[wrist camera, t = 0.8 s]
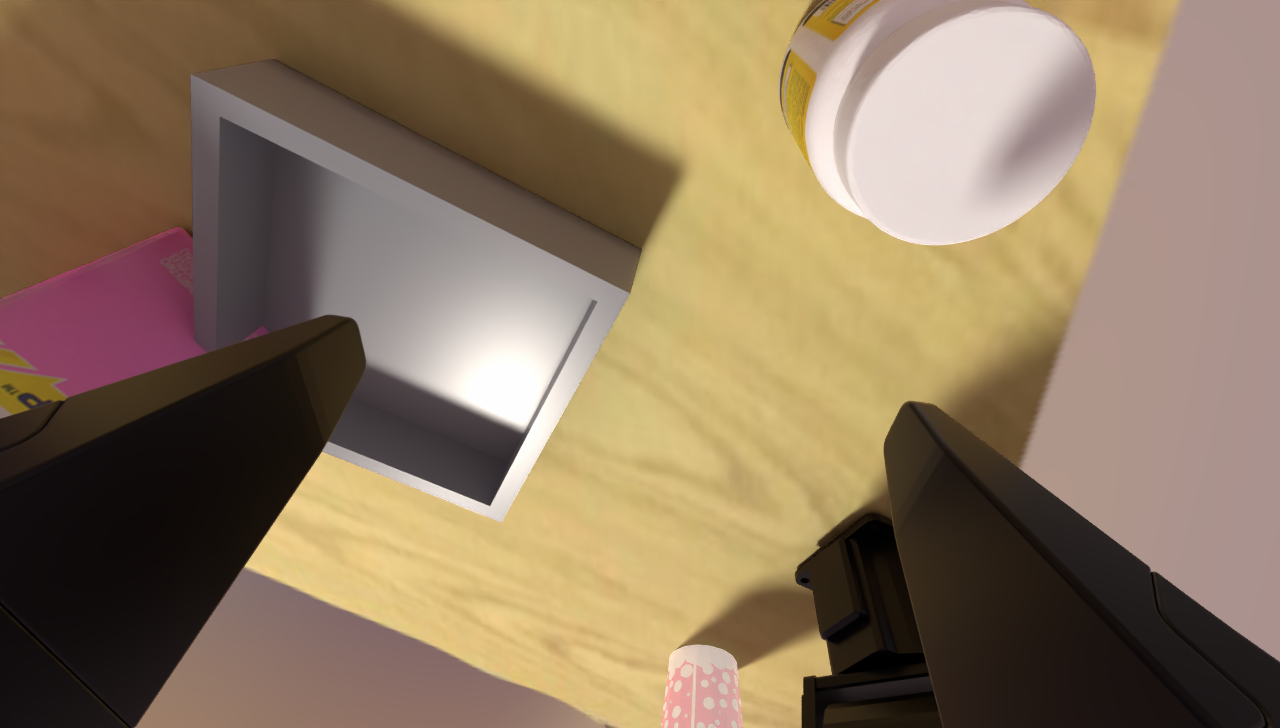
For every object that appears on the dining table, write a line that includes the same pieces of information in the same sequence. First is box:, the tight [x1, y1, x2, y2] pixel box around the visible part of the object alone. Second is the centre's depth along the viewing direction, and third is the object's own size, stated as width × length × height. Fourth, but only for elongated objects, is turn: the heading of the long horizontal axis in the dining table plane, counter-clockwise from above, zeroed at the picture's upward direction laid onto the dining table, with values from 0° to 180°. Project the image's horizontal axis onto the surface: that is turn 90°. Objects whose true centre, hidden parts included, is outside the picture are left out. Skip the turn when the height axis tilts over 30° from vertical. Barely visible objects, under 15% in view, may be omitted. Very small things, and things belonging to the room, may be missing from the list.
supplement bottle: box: [779, 0, 1096, 245], centre depth 13 cm, size 5×5×8 cm
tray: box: [190, 59, 641, 522], centre depth 21 cm, size 14×14×4 cm
